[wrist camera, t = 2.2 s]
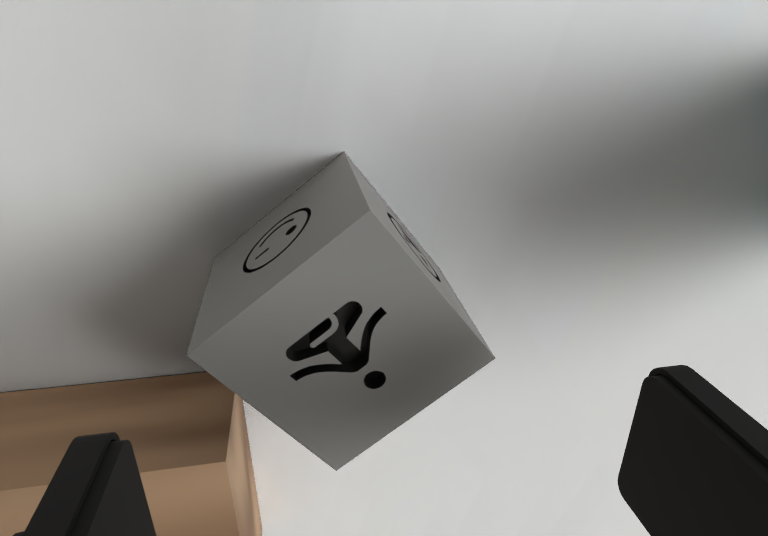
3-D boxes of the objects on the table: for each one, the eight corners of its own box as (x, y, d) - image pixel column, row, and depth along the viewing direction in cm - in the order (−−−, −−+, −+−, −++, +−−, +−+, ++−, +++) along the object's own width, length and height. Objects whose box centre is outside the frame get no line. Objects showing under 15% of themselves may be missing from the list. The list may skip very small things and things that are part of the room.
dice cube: (344, 150, 14) (369, 209, 10) (439, 268, 17) (495, 358, 12) (214, 256, 15) (186, 356, 11) (322, 355, 17) (336, 470, 13)
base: (-30, 396, 16) (-122, 506, 12) (237, 368, 17) (225, 461, 13) (45, 562, 19) (-9, 685, 16) (262, 529, 20) (257, 636, 17)
